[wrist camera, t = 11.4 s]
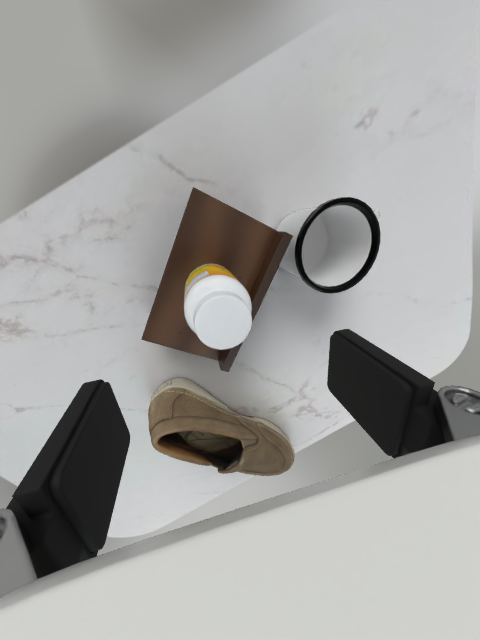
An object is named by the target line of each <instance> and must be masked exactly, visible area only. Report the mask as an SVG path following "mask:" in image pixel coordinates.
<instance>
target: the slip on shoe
mask: <svg viewBox="0 0 480 640" xmlns="http://www.w3.org/2000/svg"><path fill="white" fill-rule="evenodd" d="M148 417H149V431H150V436H151V442H152V445H153V447H154V448H155V449H156V450H157V451H159V452H161V453H163V454H165V455H168V456H170V457H173V458H176V459H179V460H183V461H186V462H191V463H195V464H199V465H206V466H210V465H212V466H214V467H216V468H218V472H219V473H222V474H224V473H233V472H236V471H237V472H241V473H246V474H253V475H262V476H271V475H279V474H282V473H283V472H285V471H287V470H288V469H289V468H290V467H291V466H292V464H293V462H294V457H295V453H294V449H293V447H292V444H291V442H290V441H289V439H288V438H287V437H286V435H285V434H284V433H283V432H282V431H281V430H280V429H279V427H277V426H276V425H274V424H273V423H271V422H269V421H268V420H265V419H262V418H258V417H249V416H243V415H240V414H237V413H235V412H232V411H231V410H229V408H228V407H227V406H225V405H224V404H222V403H221V402H220V401H219V400H217V399H216V398H214V397H213V396H212V395H210V394H209V393H208V392H206V391H205V390H204V389H203V388H201V387H200V386H198V385H197V384H195V383H194V382H192V381H190V380H188V379H184V378H175V379H171V380H168V381H167V382H165V383H163V384H162V385H161V386H160V387H159V388H158V389H157V390H156V391H155V392H154V394H153V396H152V398H151V402H150V406H149V413H148Z"/></svg>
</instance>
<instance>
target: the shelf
mask: <svg viewBox="0 0 480 640" xmlns="http://www.w3.org/2000/svg"><path fill="white" fill-rule="evenodd" d="M292 237H293V235H291V234H289V233H287V232H283V231H276V230H274V229H272V228H271V227H269V226H267V225H265V224H263V223H261V222H259V221H257V220H255V219H253V218H251V217H250V216H248V215H246V214H244V213H242V212H240V211H238V210H236V209H234V208H232V207H230V206H228V205H227V204H225V203H223V202H221V201H219V200H217V199H215V198H213V197H211V196H209V195H207V194H205V193H204V192H202V191H200V190H198V189H196V188H194V187H193V189H192V192H191V195H190V198H189V201H188V204H187V206H186V209H185V212H184V215H183V218H182V221H181V224H180V227H179V230H178V233H177V236H176V239H175V242H174V245H173V248H172V251H171V254H170V257H169V259H168V262H167V265H166V268H165V271H164V274H163V277H162V280H161V283H160V286H159V289H158V292H157V295H156V298H155V301H154V304H153V307H152V310H151V312H150V315H149V318H148V321H147V324H146V327H145V330H144V333H143V336H142V340H145V341H149V342H152V343H156V344H160V345H163V346H167V347H171V348H174V349H178V350H181V351H185V352H189V353H192V354H196V355H200V356H203V357H207V358H211V359H214V360H218V361H219V365H220V369H221V370H223V371H227V372H229V370H230V368H231V366H232V363H233V361H234V359H235V357H236V355H237V353H238V351H239V349H240V347H241V345H242V342H241V343H240V344H239V345H237V346H235V347H233V348H229V349H223V350H220V349H214V348H211V347H208V346H207V345H205V344H204V343H203V342H202V341H201V340H200V339H199V338H198V336H197V334H196V333H195V332H194V331H193V330H192V329H191V328H190V326H189V325H188V323H187V321H186V318H185V314H184V295H185V284H186V281H187V279H188V277H189V275H190V274H191V273H192V271H194V270H195V269H196V268H198V267H200V266H202V265H205V264H217V265H220V266H222V267H224V268H226V269H227V270H228V271H230V272H231V273H232V275H233V276H234V277H235V278H236V279H237V280H238V281H239V282H240V283H241V284H242V285H243V286H244V287H245V289H246V290H247V292H248V294H249V296H250V299H251V305H252V310H251V316H252V321H253V319H254V317H255V315H256V313H257V311H258V309H259V307H260V305H261V303H262V300H263V298H264V296H265V294H266V292H267V290H268V288H269V286H270V284H271V282H272V279H273V277H274V275H275V273H276V271H277V269H278V267H279V265H280V263H281V261H282V258H283V256H284V254H285V252H286V250H287V248H288V246H289V244H290V242H291V240H292Z"/></svg>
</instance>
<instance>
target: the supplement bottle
mask: <svg viewBox="0 0 480 640" xmlns="http://www.w3.org/2000/svg"><path fill="white" fill-rule="evenodd" d="M251 310H252V305H251V299H250V296H249V294H248V292H247V290H246V289H245V287H244V286H243V285H242V284H241V283H240V282H239V281H238V280H237V279H236V278H235V277H234V276H233V275H232V273H231V272H230V271H228V270H227V269H226V268H224V267H222V266H220V265H217V264H205V265H202V266H200V267H198V268H196V269H195V270H194V271H192V273H191V274H190V275H189V277H188V279H187V281H186V284H185V295H184V314H185V318H186V321H187V323H188V325H189V326H190V328H191V329H192V330H193V331H194V332H195V333H196V334H197V336H198V338H199V339H200V340H201V341H202V342H203V343H204V344H205V345H207V346H208V347H211V348H214V349H220V350H223V349H229V348H233V347H235V346H237V345H239V344H240V343H241V342H243V341H244V340H245V338H246V337H247V336H248V334H249V332H250V330H251V326H252V316H251Z"/></svg>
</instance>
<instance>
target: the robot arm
mask: <svg viewBox="0 0 480 640" xmlns="http://www.w3.org/2000/svg"><path fill="white" fill-rule="evenodd" d="M434 384H435V382H433V381H432V380H430V379H429V378H427V377H425V376H424V375H422V374H420V373H419V372H417V371H416V370H414V369H412V368H411V367H409V366H408V365H406V364H404V363H403V362H401V361H400V360H398V359H396V358H395V357H393V356H391V355H390V354H388V353H387V352H385V351H383V350H382V349H380V348H379V347H377V346H375V345H374V344H372V343H370V342H369V341H367V340H366V339H364V338H362V337H361V336H359V335H358V334H356V333H354V332H353V331H351V330H349V329H344V330H339V331H335V332H334V333H333V335H332V336H331V338H330V351H329V366H328V382H327V385H328V388H329V390H330V392H331V393H332V394H333V395H334V396H335V397H336V399H337V400H338V401H339V402H340V403H341V404H342V405H343V406H344V407H345V409H346V410H347V411H348V412H349V413H350V414H351V415H352V416H353V418H354V419H355V420H356V421H357V422H358V423H359V424H360V425H361V427H362V428H363V429H364V430H365V431H366V432H367V433H368V434H369V436H371V438H372V439H373V440H374V441H375V442H376V443H377V444H378V446H379V447H380V448H381V449H382V450H383V451H384V452H385V453H386V454H387V455H389V456H392V457H393V458H394V459H391V460H388V461H385V462H382V463H379V464H375V465H372V466H369V467H366V468H363V469H360V470H357V471H353V472H350V473H347V474H344V475H341V476H338V477H335V478H332V479H328V480H325V481H322V482H319V483H316V484H313V485H310V486H307V487H304V488H300V489H297V490H295V491H291V492H288V493H285V494H282V495H279V496H276V497H273V498H270V499H267V500H264V501H260V502H258V503H254V504H252V505H248V506H245V507H242V508H239V509H236V510H233V511H230V512H227V513H224V514H221V515H218V516H215V517H212V518H209V519H206V520H203V521H200V522H197V523H194V524H191V525H188V526H185V527H182V528H179V529H175V530H172V531H169V532H166V533H163V534H161V535H158V536H154V537H151V538H148V539H145V540H143V541H140V542H137V543H134V544H131V545H128V546H125V547H122V548H119V549H117V550H114V551H111V552H108V553H105V554H102V555H100V556H97V553H98V550H100V549H102V548H103V546H104V544H105V541H106V537H107V533H108V529H109V525H110V521H111V517H112V513H113V509H114V505H115V501H116V496H117V492H118V488H119V484H120V480H121V476H122V472H123V468H124V464H125V460H126V456H127V452H128V448H129V443H130V433H129V430H128V428H127V425H126V423H125V420H124V418H123V415H122V413H121V410H120V408H119V405H118V403H117V400H116V398H115V396H114V393H113V391H112V388H111V386H110V384H109V383H108V382H104V381H103V380H96V381H91V382H86V383H84V384H83V385H82V386H81V388H80V390H79V391H78V393H77V394H76V396H75V398H74V399H73V401H72V402H71V404H70V405H69V407H68V409H67V410H66V412H65V413H64V415H63V417H62V418H61V420H60V421H59V423H58V424H57V426H56V428H55V429H54V431H53V432H52V434H51V436H50V437H49V439H48V440H47V442H46V443H45V445H44V447H43V448H42V450H41V451H40V453H39V455H38V456H37V458H36V459H35V461H34V462H33V464H32V466H31V467H30V469H29V470H28V472H27V474H26V475H25V477H24V478H23V480H22V481H21V483H20V485H19V486H18V488H17V489H16V491H15V493H14V495H13V496H12V497H13V499H12V500H11V502H10V503H9V505H8V506H7V508H6V509H0V640H480V392H478V391H475V390H472V389H469V388H465V387H460V386H445V387H442V388H440V390H439V391H438V392H437V391H435V390H434V389H433V387H434Z"/></svg>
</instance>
